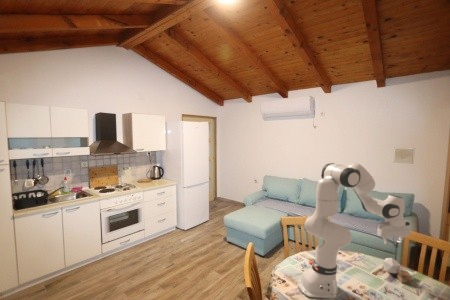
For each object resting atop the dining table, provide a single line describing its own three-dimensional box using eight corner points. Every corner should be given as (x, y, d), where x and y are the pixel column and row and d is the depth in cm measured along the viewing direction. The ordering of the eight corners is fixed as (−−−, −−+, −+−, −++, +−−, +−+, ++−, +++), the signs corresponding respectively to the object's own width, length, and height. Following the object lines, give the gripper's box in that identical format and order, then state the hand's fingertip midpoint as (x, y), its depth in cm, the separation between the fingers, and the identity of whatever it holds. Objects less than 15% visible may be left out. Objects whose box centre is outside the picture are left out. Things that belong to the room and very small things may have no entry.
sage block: (411, 281, 130) (411, 275, 130) (403, 277, 134) (403, 271, 134) (414, 279, 132) (414, 273, 132) (406, 275, 136) (406, 269, 136)
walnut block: (397, 269, 133) (397, 278, 133) (402, 275, 128) (401, 284, 128) (407, 271, 132) (406, 279, 132) (412, 276, 127) (411, 285, 127)
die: (403, 278, 133) (404, 262, 132) (386, 276, 135) (387, 260, 134) (395, 270, 141) (396, 255, 141) (379, 268, 143) (380, 253, 142)
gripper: (383, 223, 131) (382, 246, 132) (413, 222, 134) (411, 244, 135) (375, 219, 137) (373, 241, 138) (403, 218, 140) (402, 240, 141)
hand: (392, 243), depth 137 cm, fingers open, 8 cm apart
